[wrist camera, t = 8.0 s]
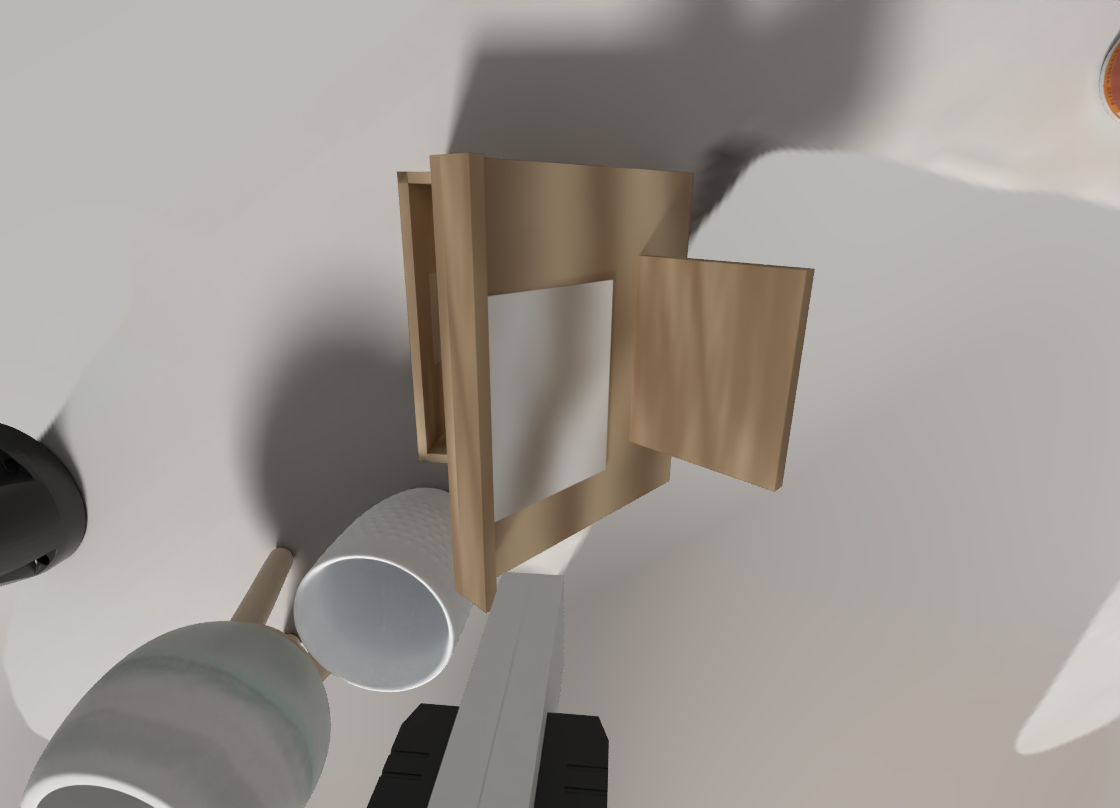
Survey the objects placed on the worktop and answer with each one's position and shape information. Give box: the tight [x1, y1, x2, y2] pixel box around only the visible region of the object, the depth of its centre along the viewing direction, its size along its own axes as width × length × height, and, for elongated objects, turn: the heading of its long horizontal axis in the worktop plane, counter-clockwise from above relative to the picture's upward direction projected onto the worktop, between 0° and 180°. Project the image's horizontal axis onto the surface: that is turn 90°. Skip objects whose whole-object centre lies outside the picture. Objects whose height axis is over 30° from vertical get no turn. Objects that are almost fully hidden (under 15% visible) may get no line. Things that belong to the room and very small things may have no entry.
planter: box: [19, 548, 331, 808], centre depth 44 cm, size 16×16×22 cm
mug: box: [293, 488, 473, 692], centre depth 44 cm, size 15×11×13 cm
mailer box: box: [397, 172, 448, 463], centre depth 39 cm, size 16×18×8 cm
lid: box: [430, 153, 814, 613], centre depth 26 cm, size 16×18×9 cm
